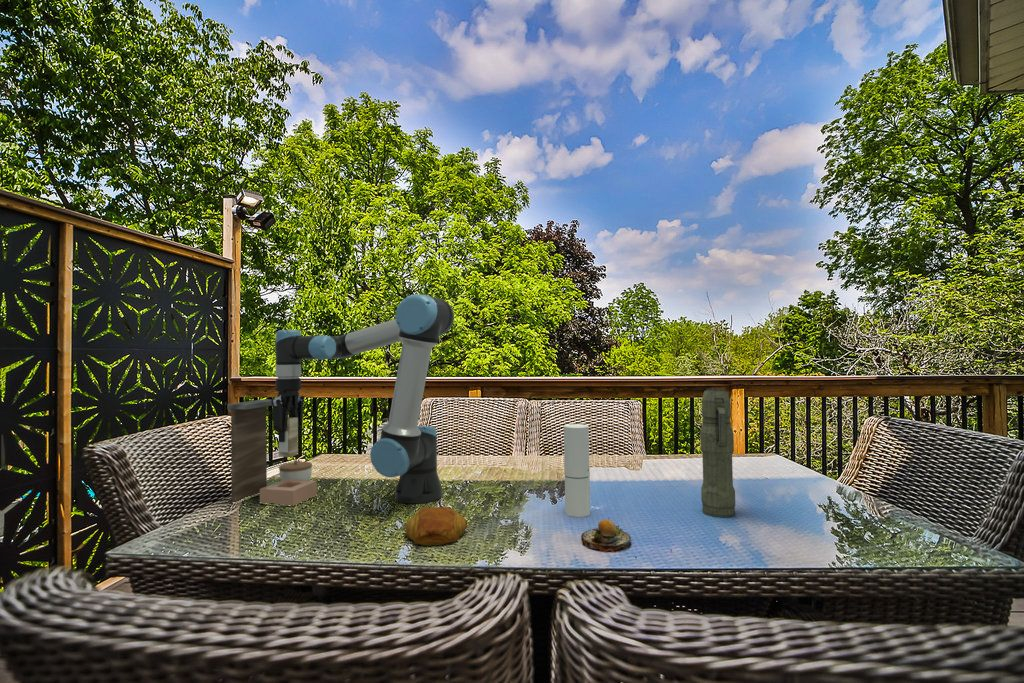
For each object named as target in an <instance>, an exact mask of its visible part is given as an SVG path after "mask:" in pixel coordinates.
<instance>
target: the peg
mask: <svg viewBox="0 0 1024 683" xmlns="http://www.w3.org/2000/svg"><path fill="white" fill-rule="evenodd" d="M282 428H283V427H282ZM286 431H288V452H279V451H278V457H280V458H290V457H295V456H297V455H299V429H298V418H296V417H289V416H288V420H287V428H286Z"/></svg>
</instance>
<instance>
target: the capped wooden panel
mask: <svg viewBox="0 0 1024 683" xmlns="http://www.w3.org/2000/svg"><path fill="white" fill-rule="evenodd" d="M271 400H272V399H257V400H250V401H242V402H237V403H236V402H235V403H227V406H226V407H227V408H226V409H227V410H230V420H231V421H230V437H231V438H230V441H231V444H230V449H231V450H230V452H231V454H230V456H231V459H230V460H231V462H230V464H231V471H230V472H231V475H230V476H231V482H230V483H231V486H230V487H231V488H230V489H231V491H230V492H231V503H232V502H236V501H239V500H241V499H243V498H245V497H248V496H251V495H254V494H257V493H260V489H261V488H264V487H266V486H268V485H267V484H268V480H267V479H268V478H267V476H268V475H267V474H268V473H267V472H268V471H267V469H268V468H267V466H268V465H267V407H272V403H271Z"/></svg>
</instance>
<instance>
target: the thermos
mask: <svg viewBox="0 0 1024 683" xmlns="http://www.w3.org/2000/svg"><path fill="white" fill-rule="evenodd" d="M731 411H732V410H731V398H730V395H729V392H728V391H727V390H725V389H724V388H723V389H722V388H707V389H706V390H704V392H703V394H702V398H701V416H702V422H701V424H702V425H701V428H700V432H699V437H700V438H699V439H700V450H701V453H702V485H701V487H700V492H701V493H700V495H701V496H700V497H701V503H702V510H701V511H702V513H703V514H704V515H706V516H710V517H715V518H732V517H734V516H735V515H736V511H735V510H736V508H735V507H736V489H735V487H734V484H733V483H734V482H733V481H734V480H733V475H734V472H733V453H734V451H735V446H734V445H735V444H734V443H735V441H734V431H733V428H732V422H731V418H732V417H731V414H732V412H731Z"/></svg>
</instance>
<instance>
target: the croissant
mask: <svg viewBox="0 0 1024 683" xmlns="http://www.w3.org/2000/svg"><path fill="white" fill-rule="evenodd" d="M467 529H468V520H467V519H466V518H465V517H464V516H463V515H462V514H461V513H459V512H457V510H455V509H453V508H450V507H447V506H435V507H423V508H420V509H419V510H418V511H417V512H416V513H415V514H414V515H412V516H411V517H410V518H408V519H407V521H406V525H405V533H406V536H407V538H408V539H411V540H412V541H413V542H414V544H415V545H421V546H442V545H445V544H449V543H456V542H457V541H459V538H461V537H462V536H463V535H464V533H465V532H466V530H467Z"/></svg>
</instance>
